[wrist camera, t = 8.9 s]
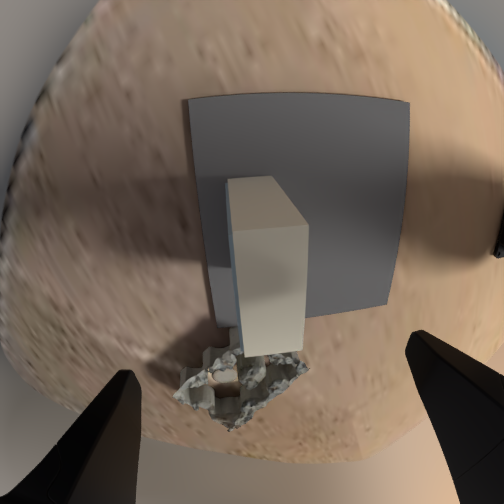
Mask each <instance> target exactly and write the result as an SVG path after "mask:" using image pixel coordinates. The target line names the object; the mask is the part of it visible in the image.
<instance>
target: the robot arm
mask: <svg viewBox="0 0 504 504" xmlns="http://www.w3.org/2000/svg"><path fill="white" fill-rule="evenodd" d="M494 256H495V257H496V258H502V257H504V215H503V220H502V224H501V229H500V233H499V237H498V241H497V245H496V248H495V252H494ZM405 355H406V358H407V361H408V364H409V367H410V370H411V372H412V375H413V378H414V381H415V385H416V387H417V390H418V393H419V395H420V397H421V400H422V402H423V404H424V407H425V409H426V411H427V414H428V416H429V418H430V421H431V423H432V425H433V428H434V430H435V433H436V435H437V438H438V440H439V443H440V446H441V448H442V451H443V454H444V456H445V459H446V462H447V465H448V467H449V470H450V473H451V476H452V479H453V482H454V485H455V488H456V492H457V495H458V498H459V501H460V504H504V376H503V375H501V374H499V373H498V372H496V371H494V370H493V369H491V368H489V367H488V366H486V365H484V364H482V363H481V362H479V361H477V360H475V359H474V358H472V357H470V356H468V355H467V354H465V353H463V352H461V351H460V350H458V349H456V348H454V347H453V346H451V345H449V344H447V343H446V342H444V341H442V340H440V339H438V338H437V337H435V336H433V335H431V334H430V333H428V332H426V331H424V330H418V331H415V332H412V333H411V335H410V338H409V340H408V343H407V346H406V349H405ZM141 398H142V391H141V386H140V384H139V382H138V380H137V378H136V376H135V374H134V372H133V371H132V370H119V371H118V372H117V373H116V374H115V375H114V376H113V378H112V379H111V380H110V381H109V382H108V383H107V384H106V386H105V387H104V388H103V389H102V390H101V391H100V393H99V394H98V395H97V396H96V397H95V398H94V400H93V401H92V402H91V403H90V404H89V405H88V407H87V408H86V409H85V410H84V411H83V412H82V414H81V415H80V416H79V417H78V418H77V419H76V421H75V422H74V423H73V424H72V425H71V427H70V428H69V429H68V430H67V431H66V432H65V434H64V435H63V436H62V438H60V440H59V441H58V442H57V445H55V446H54V447H53V448H52V449H51V450H50V452H49V453H48V454H47V455H46V456H45V457H44V458H43V460H42V461H41V462H40V463H39V464H38V465H37V466H36V467H35V468H34V469H33V470H32V471H31V472H30V473H29V474H28V475H27V476H26V477H25V478H24V479H23V480H22V481H21V482H20V483H18V484H17V485H16V486H15V487H14V488H13V489H12V490H11V491H10V492H8V493H7V494H5V495H3V496H1V497H0V504H135V502H136V485H137V472H138V460H139V449H140V441H141Z"/></svg>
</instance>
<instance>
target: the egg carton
mask: <svg viewBox="0 0 504 504" xmlns="http://www.w3.org/2000/svg"><path fill="white" fill-rule="evenodd" d="M229 337H230V345H229V346H227V347H225V348H214V347H211V346H210V347H208V348H207V349H206V350H205V351H204V352H203V367H201V368H190V367H187V366H186V367H185V368H183V369H182V370H181V372H180V389H179V390H178V391H177V392H176V393H175V394H174V395H173V398H175V399H177V400H178V401H179V402H181V404H184V403H187V404H189V405H191V406H192V407H193V409H194V410H196V411H197V410H199V406H200V407H202V408H205V409H207V410H208V411H209V415H210V417H211V418H212V420H214V421H215V422H217V423H219V424H222V425H224V426H225V427H227V428H229V430H227V431H228V432H230V431H232V430H234V428H237V429H238V428H239V427H241V425H243V424H246V423H247V422H248V421H249V420H250V419H251V418H252V417H253V414H254V412H255V411H256V410H259V409H261V408H264V407H265V406H266V405H267V403H268V402H269V401H270V400H272V399H273V398H274V397H276V396H277V395H279V394H281V393H283V392H284V391H285V390H286V389H287V388H288V387H289V386H290V385H291V384H292V383H293V381H294V380H295V379H297V378H298V376H300V375H301V374H303V373H306V372H307V371H308V370H309V369H310V368H309V369H308V368H307V367H306V365H305V363H304V362H302V361H300V360H299V357H298V354H297V351H293V352H286V353H279V354H271V355H267V356H268V357H269V360H270V362H271V363H272V364H270V365H268V366H267V367H266V366H265V361H264V355H262V356H253V357H245V354H244V351H241V349H240V341H239V332H238V326H234V327H231V328H230V329H229ZM235 356H237V360H236V357H235ZM236 361H237V372H238V380H239V382H240V383H242V385H241V387H240V396H238V397H224V398H221V399H219V398H217V397H214V392H215V391H214V389H213V388H212V387H210V386H208V372H210V373H212V372H213V374H212V375H213V379H214V380H215V381H217V382H219V383H229V382H231V381H234V380H235V379H236V378H237V372H236V371H235V370H234V369H232V368H233V366H234V365H235V363H236ZM208 368H209V371H208ZM216 369H217V370H216ZM214 370H215V371H214ZM262 379H263V380H262ZM261 380H262V381H261ZM204 383H205V384H207V385H203V384H204Z"/></svg>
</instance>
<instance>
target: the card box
mask: <svg viewBox="0 0 504 504" xmlns="http://www.w3.org/2000/svg"><path fill="white" fill-rule="evenodd" d="M225 189H226V206H227V223H228V238H229V248H230V258H231V268H232V277H233V287H234V296H235V305H236V314H237V323H238V332H239V341H240V349H241V351H244V354H245V357H253V356H262V355H271V354H279V353H286V352H293V351H300V350H302V349H303V336H304V322H305V307H306V289H307V269H308V241H309V224H308V223H307V222H306V220H305V219H304V218H303V216H302V215H301V214H300V212H299V211H298V210H297V208H296V207H295V206H294V204H293V203H292V202H291V200H290V199H289V198H288V196H287V195H286V194H285V192H284V191H283V190H282V188H281V187H280V186H279V184H278V183H277V182H276V181H275V179H274V178H273V177H272V176H257V177H244V178H232V179H228V183H225Z"/></svg>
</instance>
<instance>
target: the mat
mask: <svg viewBox="0 0 504 504" xmlns="http://www.w3.org/2000/svg"><path fill="white" fill-rule="evenodd" d="M188 104H189V116H190V127H191V137H192V148H193V157H194V166H195V175H196V184H197V193H198V201H199V209H200V217H201V224H202V232H203V239H204V246H205V253H206V260H207V266H208V273H209V280H210V286H211V292H212V298H213V304H214V310H215V316H216V322H217V328H223V327H234V326H238V323H237V314H236V305H235V296H234V287H233V277H232V268H231V258H230V248H229V238H228V223H227V206H226V189H225V183H228V179H232V178H244V177H257V176H272V177H273V178H274V179H275V181H276V182H277V183H278V184H279V186H280V187H281V188H282V190H283V191H284V192H285V194H286V195H287V196H288V198H289V199H290V200H291V202H292V203H293V204H294V206H295V207H296V208H297V210H298V211H299V212H300V214H301V215H302V216H303V218H304V219H305V220H306V222H307V223H308V224H309V241H308V269H307V289H306V307H305V318H309V317H316V316H323V315H329V314H336V313H342V312H348V311H354V310H359V309H365V308H370V307H376V306H381V305H386V304H387V301H388V297H389V292H390V288H391V283H392V278H393V273H394V268H395V263H396V258H397V252H398V246H399V240H400V234H401V227H402V220H403V212H404V204H405V194H406V184H407V172H408V157H409V132H410V103H409V102H403V101H396V100H389V99H381V98H373V97H363V96H352V95H338V94H319V93H260V94H241V95H227V96H215V97H206V98H197V99H189V100H188Z"/></svg>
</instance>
